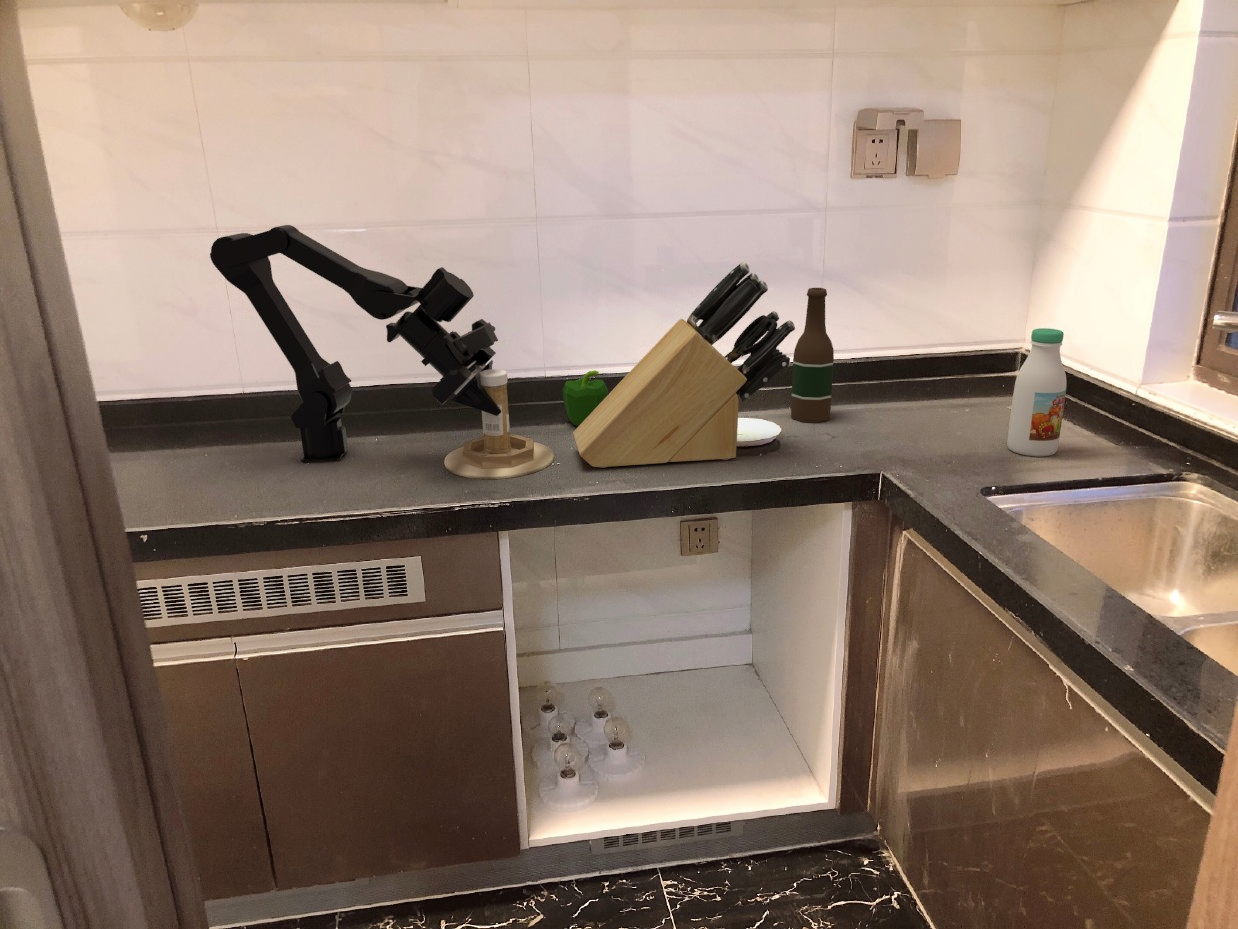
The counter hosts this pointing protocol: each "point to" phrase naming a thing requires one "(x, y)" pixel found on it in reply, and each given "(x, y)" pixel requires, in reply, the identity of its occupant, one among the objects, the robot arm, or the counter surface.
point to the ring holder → (499, 459)
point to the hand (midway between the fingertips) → (503, 409)
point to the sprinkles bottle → (494, 425)
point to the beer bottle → (813, 365)
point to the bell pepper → (583, 397)
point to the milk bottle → (1039, 397)
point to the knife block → (688, 385)
